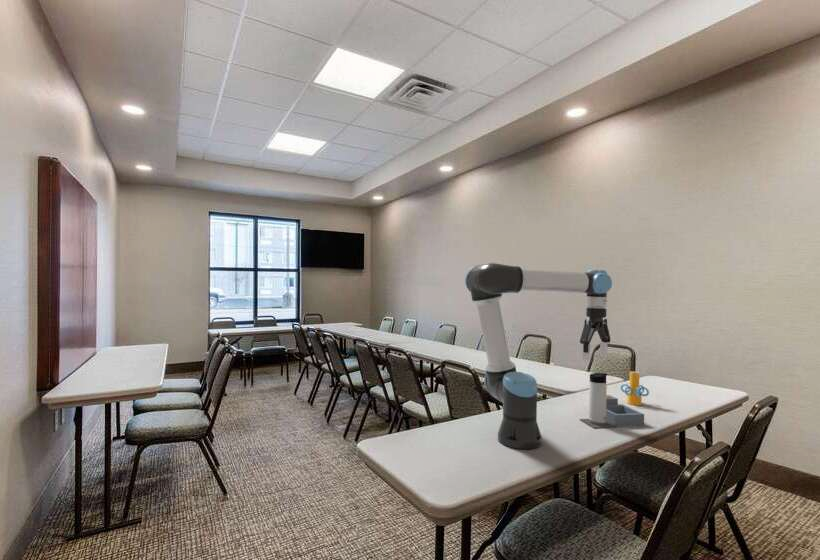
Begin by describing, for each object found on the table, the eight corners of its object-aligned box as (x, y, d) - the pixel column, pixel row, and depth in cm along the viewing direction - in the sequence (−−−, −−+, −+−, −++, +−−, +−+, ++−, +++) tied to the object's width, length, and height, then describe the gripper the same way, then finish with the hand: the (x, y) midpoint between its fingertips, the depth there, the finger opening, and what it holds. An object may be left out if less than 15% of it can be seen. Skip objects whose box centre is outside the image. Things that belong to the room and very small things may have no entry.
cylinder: (651, 408, 183) (651, 375, 184) (626, 406, 185) (627, 374, 186) (641, 400, 195) (641, 370, 195) (618, 399, 197) (618, 369, 198)
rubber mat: (593, 428, 156) (593, 427, 156) (579, 419, 166) (579, 418, 166) (617, 427, 158) (617, 426, 158) (601, 419, 167) (601, 418, 167)
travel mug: (609, 425, 159) (610, 375, 159) (592, 425, 159) (593, 374, 159) (603, 420, 165) (603, 371, 165) (586, 419, 165) (587, 371, 165)
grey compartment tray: (615, 426, 159) (615, 408, 159) (588, 411, 178) (588, 395, 178) (644, 425, 161) (644, 407, 161) (613, 410, 180) (613, 394, 180)
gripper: (589, 308, 153) (588, 363, 153) (620, 307, 169) (618, 358, 168) (571, 307, 159) (570, 360, 159) (602, 306, 175) (601, 355, 174)
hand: (595, 359), depth 164 cm, fingers open, 13 cm apart
